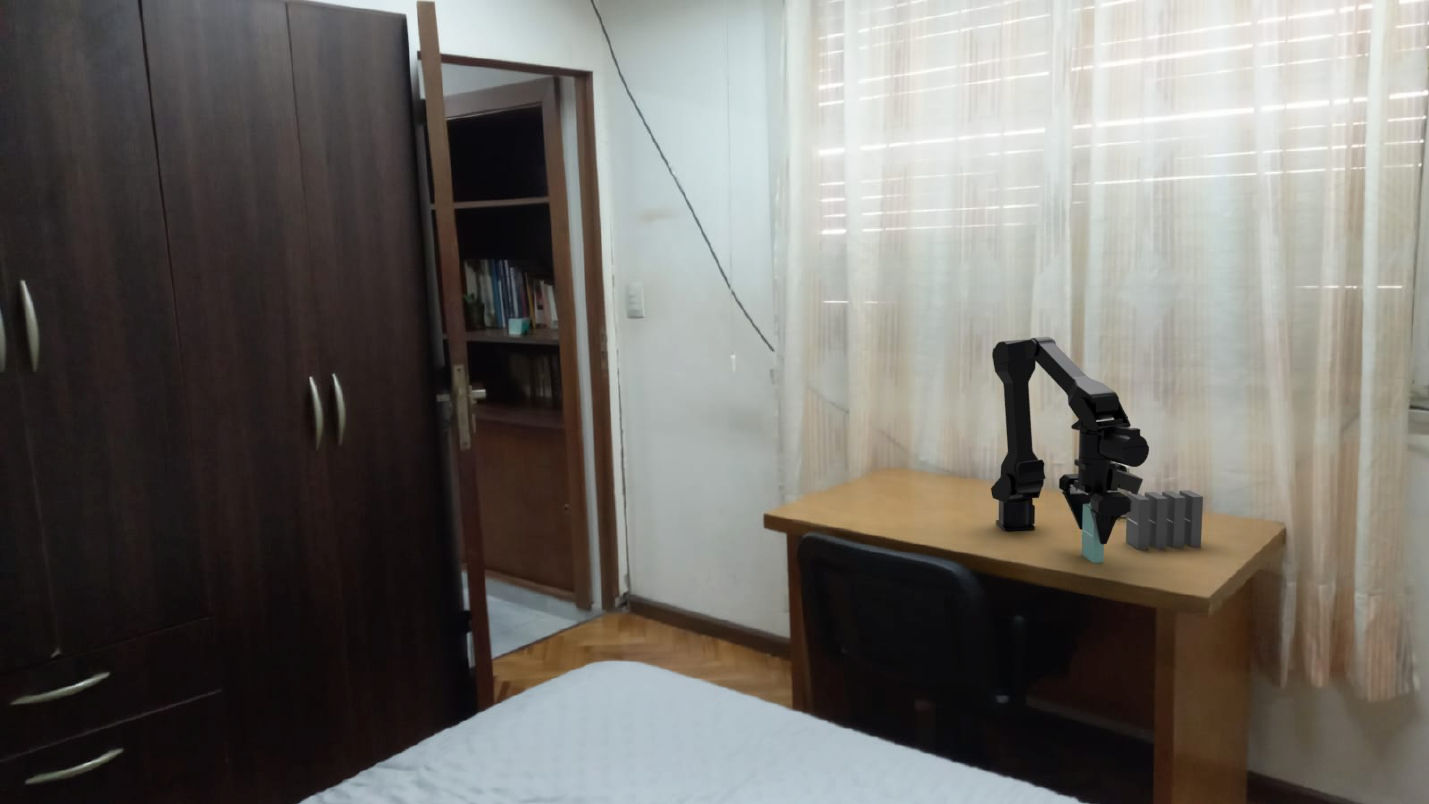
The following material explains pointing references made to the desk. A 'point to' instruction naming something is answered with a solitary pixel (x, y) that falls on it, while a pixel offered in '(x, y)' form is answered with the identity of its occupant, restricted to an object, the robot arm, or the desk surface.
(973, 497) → the desk surface
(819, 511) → the desk surface
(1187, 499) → the tile
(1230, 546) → the desk surface
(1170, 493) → the tile
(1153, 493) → the tile
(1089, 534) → the head tile
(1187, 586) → the desk surface
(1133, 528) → the tile
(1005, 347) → the robot arm
